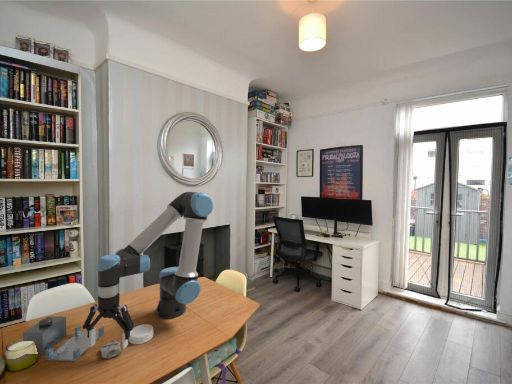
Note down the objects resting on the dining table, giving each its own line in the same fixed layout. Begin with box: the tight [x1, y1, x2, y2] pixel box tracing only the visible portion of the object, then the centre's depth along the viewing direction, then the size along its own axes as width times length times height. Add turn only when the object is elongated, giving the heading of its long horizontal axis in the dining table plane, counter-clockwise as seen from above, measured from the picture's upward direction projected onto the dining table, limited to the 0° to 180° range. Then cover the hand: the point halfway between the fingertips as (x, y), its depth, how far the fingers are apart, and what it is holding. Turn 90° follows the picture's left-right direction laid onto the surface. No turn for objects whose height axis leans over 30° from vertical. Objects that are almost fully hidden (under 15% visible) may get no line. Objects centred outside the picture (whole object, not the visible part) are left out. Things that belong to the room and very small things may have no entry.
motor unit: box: [22, 315, 106, 362], centre depth 107 cm, size 24×18×10 cm
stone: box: [99, 340, 122, 359], centre depth 103 cm, size 10×7×3 cm
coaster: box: [128, 323, 154, 345], centre depth 113 cm, size 10×10×4 cm
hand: (108, 345), depth 103 cm, fingers open, 13 cm apart
